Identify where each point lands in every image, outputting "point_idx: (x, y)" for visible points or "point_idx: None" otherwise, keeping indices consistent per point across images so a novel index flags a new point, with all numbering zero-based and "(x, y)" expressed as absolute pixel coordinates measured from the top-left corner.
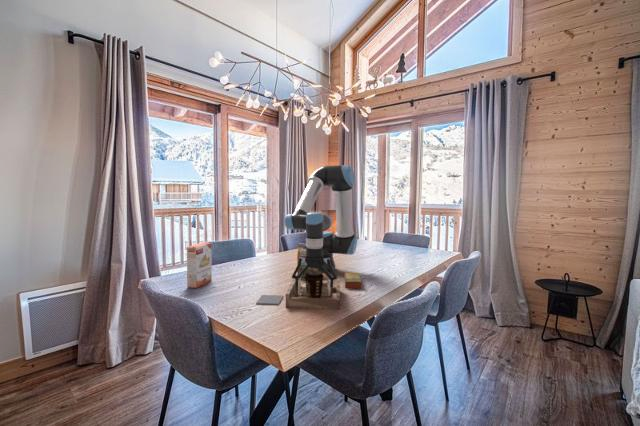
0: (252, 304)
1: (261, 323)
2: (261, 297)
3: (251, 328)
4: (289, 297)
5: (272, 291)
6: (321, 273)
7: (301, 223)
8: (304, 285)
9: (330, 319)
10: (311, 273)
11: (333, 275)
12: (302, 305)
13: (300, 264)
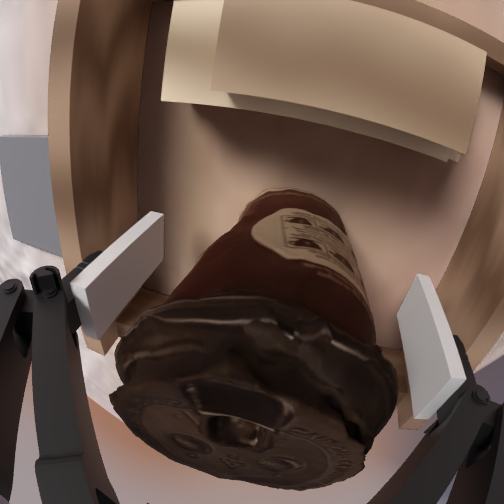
0: (10, 235)
1: (101, 378)
2: (4, 174)
3: (93, 389)
4: (116, 328)
5: (25, 53)
6: (341, 479)
7: None
8: (185, 56)
9: None
10: (193, 442)
11: (463, 469)
12: None
13: (8, 482)
